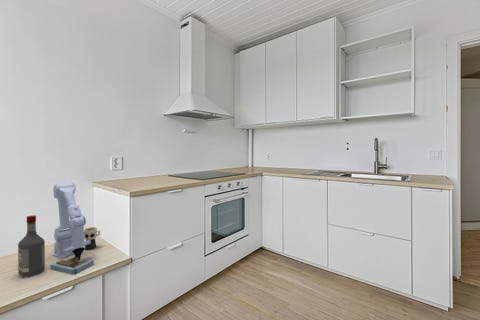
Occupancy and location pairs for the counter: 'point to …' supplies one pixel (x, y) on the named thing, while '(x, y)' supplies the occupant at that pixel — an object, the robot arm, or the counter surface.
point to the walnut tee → (69, 262)
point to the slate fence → (70, 269)
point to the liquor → (31, 251)
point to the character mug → (91, 236)
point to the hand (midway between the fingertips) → (77, 260)
